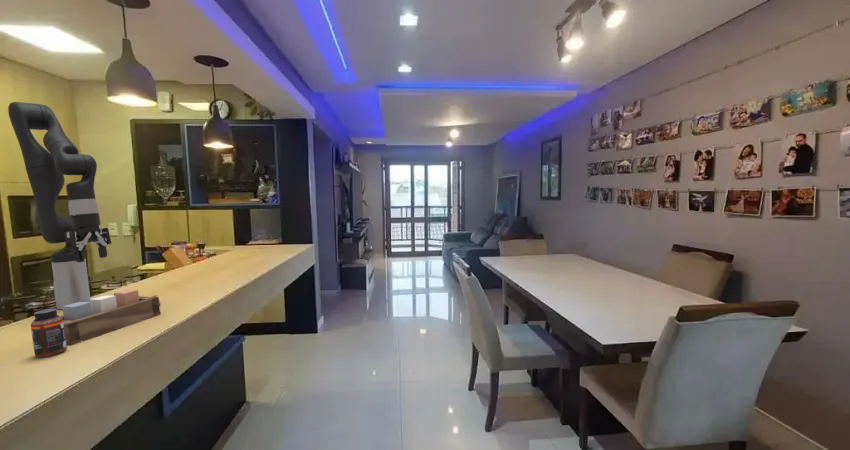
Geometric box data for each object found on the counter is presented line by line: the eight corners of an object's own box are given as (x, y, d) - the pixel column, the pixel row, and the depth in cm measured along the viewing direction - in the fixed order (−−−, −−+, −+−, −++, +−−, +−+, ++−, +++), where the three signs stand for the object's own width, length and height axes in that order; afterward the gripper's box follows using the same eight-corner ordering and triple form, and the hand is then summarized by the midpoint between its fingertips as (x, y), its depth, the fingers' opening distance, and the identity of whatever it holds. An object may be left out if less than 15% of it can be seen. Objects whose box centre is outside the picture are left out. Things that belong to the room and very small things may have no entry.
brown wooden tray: (40, 341, 107) (38, 321, 106) (133, 312, 132) (132, 295, 131) (71, 345, 104) (68, 324, 103) (160, 314, 129) (158, 297, 128)
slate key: (64, 323, 109) (62, 306, 109) (81, 318, 113) (79, 301, 113) (75, 324, 108) (73, 307, 108) (92, 319, 112) (90, 302, 112)
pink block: (115, 308, 123) (114, 293, 122) (129, 304, 127) (128, 289, 126) (126, 309, 121) (124, 293, 121) (139, 304, 126) (138, 289, 125)
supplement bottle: (73, 348, 102) (68, 306, 100) (51, 358, 96) (45, 314, 95) (51, 348, 102) (46, 307, 101) (27, 358, 96) (21, 314, 95)
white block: (91, 315, 116) (89, 299, 115) (107, 310, 120) (105, 295, 120) (102, 316, 115) (100, 299, 114) (117, 311, 119) (115, 295, 118)
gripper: (93, 212, 138) (100, 257, 140) (52, 215, 124) (61, 264, 125) (112, 210, 138) (120, 255, 139) (74, 213, 124) (82, 262, 125)
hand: (92, 259), depth 132 cm, fingers open, 8 cm apart
